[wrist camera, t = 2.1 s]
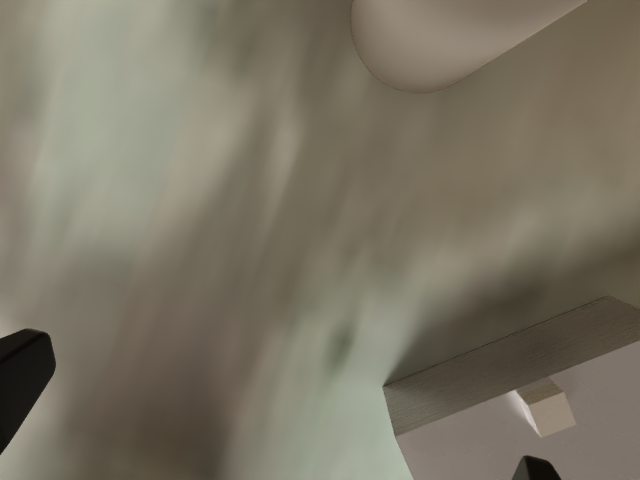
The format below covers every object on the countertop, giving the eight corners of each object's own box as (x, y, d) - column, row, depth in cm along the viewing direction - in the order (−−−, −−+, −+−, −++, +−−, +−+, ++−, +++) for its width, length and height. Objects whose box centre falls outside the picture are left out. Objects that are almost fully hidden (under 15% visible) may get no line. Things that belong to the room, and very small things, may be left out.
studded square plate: (468, 581, 23) (507, 697, 18) (382, 387, 22) (399, 453, 17) (752, 477, 22) (875, 567, 17) (680, 266, 21) (791, 299, 16)
